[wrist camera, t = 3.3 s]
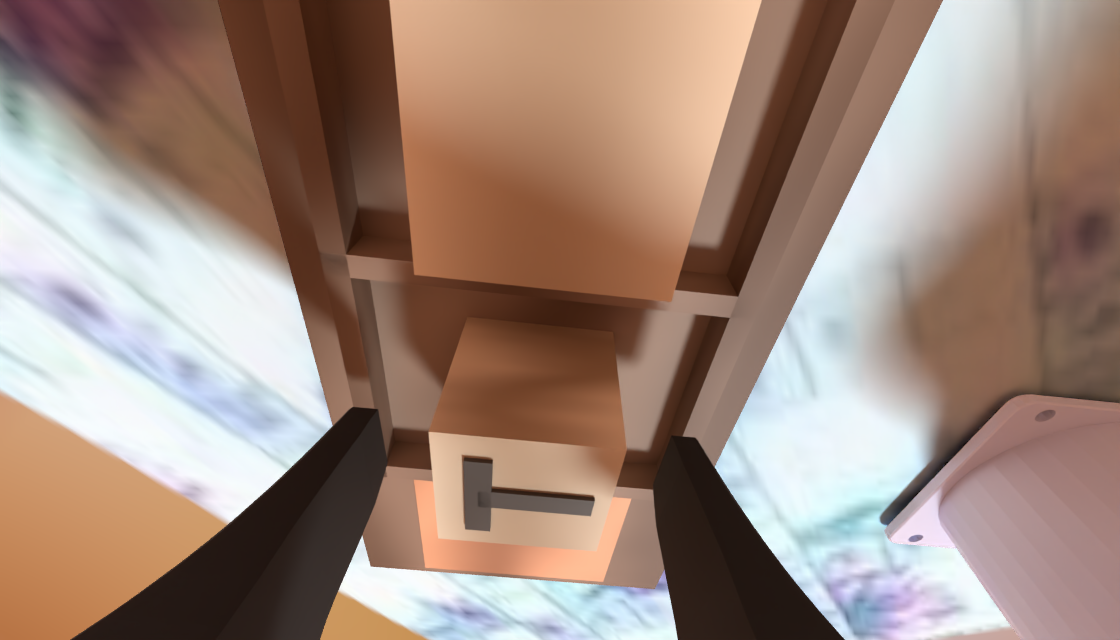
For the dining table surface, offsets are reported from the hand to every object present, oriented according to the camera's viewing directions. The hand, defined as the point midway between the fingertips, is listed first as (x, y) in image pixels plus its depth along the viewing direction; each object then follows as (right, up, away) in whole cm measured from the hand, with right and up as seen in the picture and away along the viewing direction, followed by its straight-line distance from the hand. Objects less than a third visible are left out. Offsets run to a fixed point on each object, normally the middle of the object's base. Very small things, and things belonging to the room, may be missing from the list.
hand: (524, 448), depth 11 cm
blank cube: (+1, +8, -2) cm, 8 cm away
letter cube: (0, +1, +2) cm, 3 cm away
